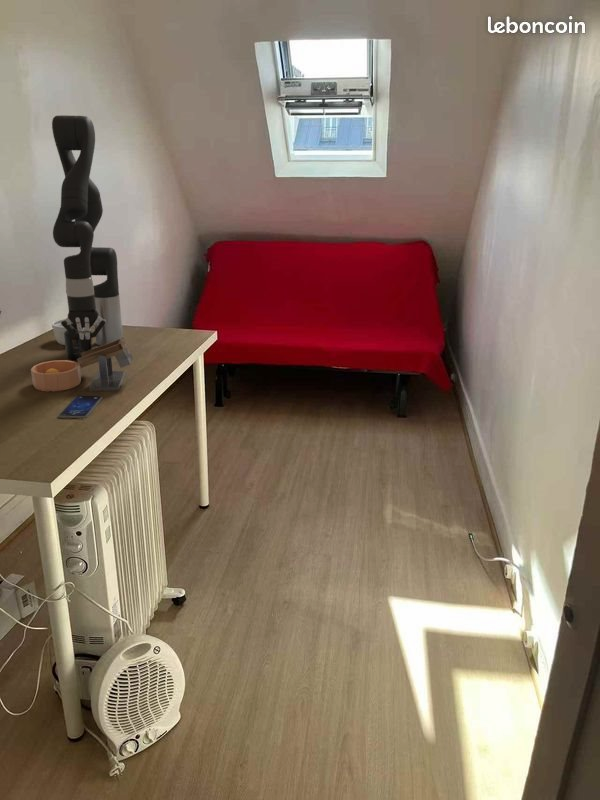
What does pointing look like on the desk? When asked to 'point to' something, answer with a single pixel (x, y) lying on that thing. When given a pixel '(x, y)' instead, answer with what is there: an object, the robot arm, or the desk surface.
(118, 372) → the chute stand
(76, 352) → the supplement bottle
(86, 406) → the smartphone
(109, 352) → the chute
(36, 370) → the pink round bowl
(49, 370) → the ball
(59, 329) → the white bowl
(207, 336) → the desk surface
